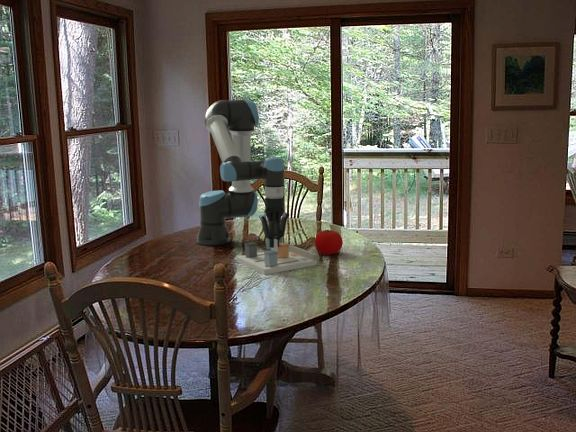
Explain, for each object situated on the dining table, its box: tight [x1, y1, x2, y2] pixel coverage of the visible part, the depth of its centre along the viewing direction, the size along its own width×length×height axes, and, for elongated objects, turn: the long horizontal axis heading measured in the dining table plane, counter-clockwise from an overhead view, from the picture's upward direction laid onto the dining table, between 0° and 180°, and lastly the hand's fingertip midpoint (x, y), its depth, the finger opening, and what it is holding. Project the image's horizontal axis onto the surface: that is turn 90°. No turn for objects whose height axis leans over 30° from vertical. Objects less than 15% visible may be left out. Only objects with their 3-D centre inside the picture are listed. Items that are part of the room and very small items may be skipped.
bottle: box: [265, 217, 283, 251], centre depth 260 cm, size 7×7×15 cm
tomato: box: [314, 229, 343, 256], centre depth 253 cm, size 12×12×10 cm
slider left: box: [243, 241, 258, 257], centre depth 243 cm, size 4×4×5 cm
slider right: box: [263, 250, 278, 266], centre depth 230 cm, size 4×4×5 cm
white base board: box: [235, 242, 318, 276], centre depth 240 cm, size 23×24×4 cm
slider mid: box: [277, 241, 290, 258], centre depth 242 cm, size 4×4×5 cm
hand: (274, 255), depth 240 cm, fingers closed
